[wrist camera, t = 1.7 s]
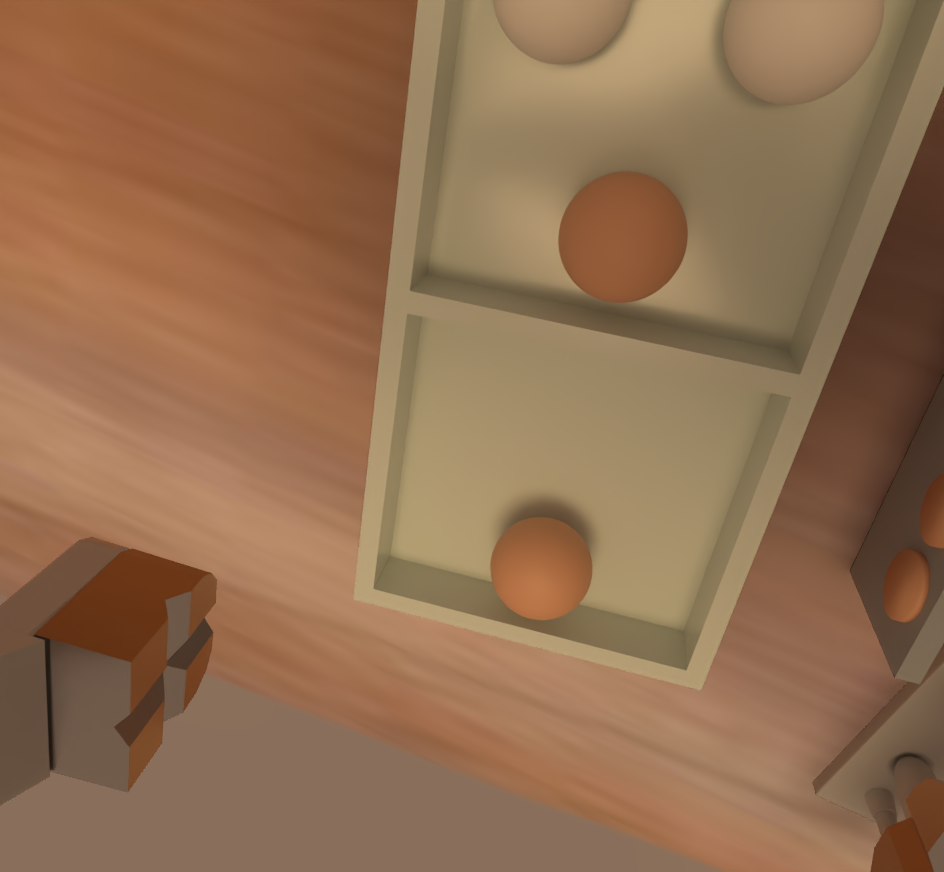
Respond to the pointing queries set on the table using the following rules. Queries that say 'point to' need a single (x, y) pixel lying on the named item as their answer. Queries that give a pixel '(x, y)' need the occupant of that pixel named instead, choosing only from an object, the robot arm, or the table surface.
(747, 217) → the twin dish
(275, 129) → the table surface
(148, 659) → the robot arm
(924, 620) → the card
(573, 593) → the terracotta ball
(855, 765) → the test tube rack
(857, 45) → the ivory ball
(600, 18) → the ivory ball
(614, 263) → the terracotta ball
